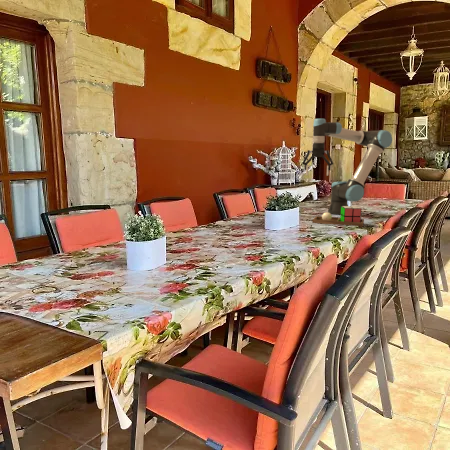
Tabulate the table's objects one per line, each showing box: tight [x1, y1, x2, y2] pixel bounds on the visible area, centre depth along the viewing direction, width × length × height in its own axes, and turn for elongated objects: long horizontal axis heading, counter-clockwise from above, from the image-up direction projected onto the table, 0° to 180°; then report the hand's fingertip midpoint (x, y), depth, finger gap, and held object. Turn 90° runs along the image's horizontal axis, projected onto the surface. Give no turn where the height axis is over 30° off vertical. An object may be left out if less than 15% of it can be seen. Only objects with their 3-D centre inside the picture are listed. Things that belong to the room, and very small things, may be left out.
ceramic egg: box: [321, 211, 333, 220], centre depth 266 cm, size 6×6×6 cm
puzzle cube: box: [340, 205, 362, 223], centre depth 261 cm, size 10×10×10 cm
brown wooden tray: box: [312, 215, 365, 229], centre depth 264 cm, size 15×29×3 cm, turn 68°
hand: (317, 175), depth 284 cm, fingers open, 13 cm apart
